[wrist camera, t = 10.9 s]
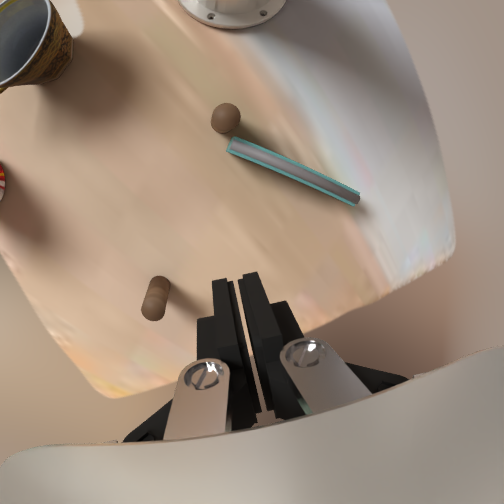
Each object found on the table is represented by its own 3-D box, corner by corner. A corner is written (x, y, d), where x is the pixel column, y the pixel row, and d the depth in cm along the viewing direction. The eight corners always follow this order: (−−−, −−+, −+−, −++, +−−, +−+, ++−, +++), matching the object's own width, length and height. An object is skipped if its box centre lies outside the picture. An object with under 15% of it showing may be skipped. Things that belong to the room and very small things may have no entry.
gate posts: (216, 107, 30) (219, 99, 24) (237, 116, 30) (244, 109, 25) (147, 290, 35) (138, 316, 30) (166, 297, 36) (161, 324, 30)
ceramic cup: (54, 9, 22) (17, -22, 13) (104, 42, 25) (72, 10, 16) (-8, 95, 24) (-58, 89, 15) (35, 135, 27) (-15, 136, 18)
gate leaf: (225, 151, 31) (228, 151, 27) (231, 137, 31) (235, 135, 27) (340, 200, 35) (356, 207, 31) (346, 188, 34) (362, 193, 30)
